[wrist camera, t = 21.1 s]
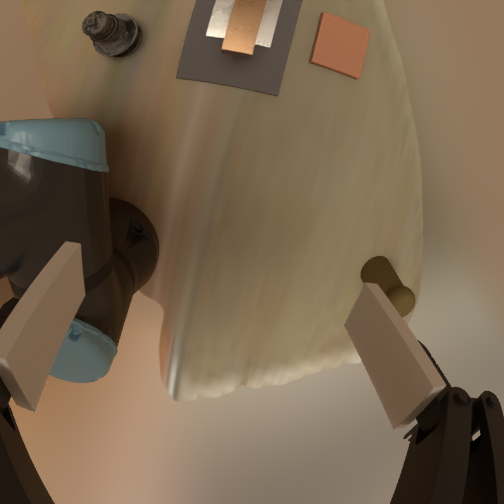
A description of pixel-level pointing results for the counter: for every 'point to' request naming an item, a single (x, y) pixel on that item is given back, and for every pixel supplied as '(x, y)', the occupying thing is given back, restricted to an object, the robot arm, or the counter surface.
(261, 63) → the mat
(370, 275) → the cork
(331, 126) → the counter surface
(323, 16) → the tile
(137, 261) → the robot arm
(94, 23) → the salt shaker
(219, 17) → the trowel
